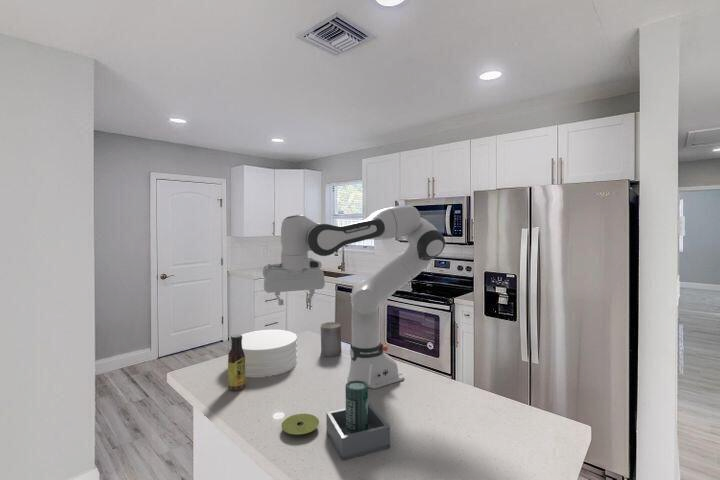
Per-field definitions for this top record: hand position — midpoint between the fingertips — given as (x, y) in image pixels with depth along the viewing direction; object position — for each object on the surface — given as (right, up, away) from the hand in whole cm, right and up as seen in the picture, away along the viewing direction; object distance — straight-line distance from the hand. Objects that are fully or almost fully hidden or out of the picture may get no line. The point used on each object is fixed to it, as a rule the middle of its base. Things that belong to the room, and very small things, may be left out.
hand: (295, 303), depth 120 cm
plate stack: (-20, -34, +38) cm, 55 cm away
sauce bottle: (-25, -35, +15) cm, 45 cm away
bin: (+21, -36, -18) cm, 45 cm away
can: (+21, -35, -18) cm, 45 cm away
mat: (+4, -36, -13) cm, 38 cm away
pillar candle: (+8, -33, +51) cm, 61 cm away
